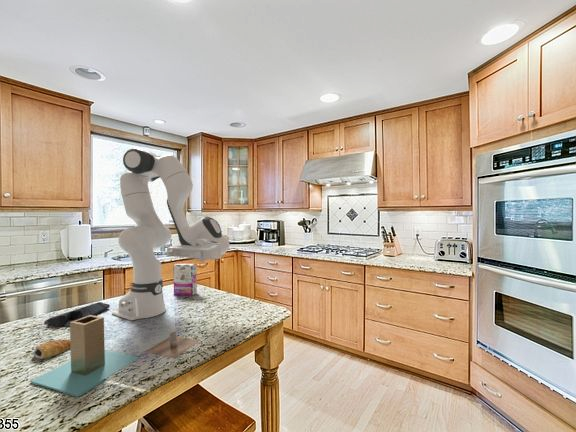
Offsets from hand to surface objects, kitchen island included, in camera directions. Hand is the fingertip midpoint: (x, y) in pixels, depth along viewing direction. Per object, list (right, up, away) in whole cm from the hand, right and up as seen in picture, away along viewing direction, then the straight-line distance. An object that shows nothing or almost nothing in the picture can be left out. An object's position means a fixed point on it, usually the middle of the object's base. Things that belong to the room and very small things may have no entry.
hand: (178, 255), depth 98 cm
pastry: (-37, -31, -9) cm, 49 cm away
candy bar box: (-17, -29, +51) cm, 61 cm away
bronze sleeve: (-18, -30, -19) cm, 40 cm away
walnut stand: (+1, -30, -7) cm, 31 cm away
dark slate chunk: (-51, -30, +21) cm, 63 cm away
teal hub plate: (-18, -30, -19) cm, 40 cm away
